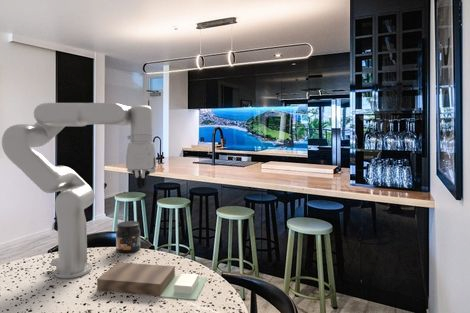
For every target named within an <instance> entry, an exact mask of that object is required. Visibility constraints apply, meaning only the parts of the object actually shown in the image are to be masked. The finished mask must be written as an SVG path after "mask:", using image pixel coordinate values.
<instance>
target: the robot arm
mask: <svg viewBox="0 0 470 313" xmlns="http://www.w3.org/2000/svg"><path fill="white" fill-rule="evenodd" d="M152 116H153V111H152V108H151V106H149V105H137V104H135V105H132V106H129V105H128V106H127V105H124V104H121V103H115V102H45V103H44V102H43V103H40V104H38V105H37V106H36V107H35V108H34V110H33V118H34V119H35V121H36V122H35V123H34V124H28V123H26V124H25V123H24V124H23V123H22V124H21V123H20V124H19V123H18V124H14V125H11V126H9V127H7V128H6V130H4V132H3V134H2V137H1V146H2V150H3V152H4V154H5V155H6V157H7V158H8V159H9V160H10V161H11V163H12V164H13V165H15V166H16V167H17V168H18V169H20V170H21V172H22V173H23V174H24V175H26V177H27V178H29V180H30V181H32V182H33V183H34V184H35V185H36V186H37V187H38V188H39V189H40V190H41V192H44V193H46V194H53V193H57V192H60V193H59V194H58V195H57V196H56V198H55V200H54V210H55V214H56V219H57V220H56V222H57V237H58V238H57V242H58V246H57V247H58V258H52V259H51V262H50V264H49V266H51V267H55V270H54V272H53V273H54V277H55V278H58V279H74V278H78V277H82V276H85V275H87V274H88V273H90V272H91V271H92V270H93V268H92V267H93V265H92V264H91V262H90V263H89V262H88V243H87V242H88V237H87V236H88V234H87V230H88V229H87V228H88V227H87V219H86V215H85V209H87V208H88V207H90V206H91V205H92V204H93V203H94V201H95V197H96V196H95V191H94V190H93V188H92V187H91V186H90V185H89V184H88V183H87V182H86V181H85V180H84V179H83V178H82V177H81V176H80V175H79V174H78V173H77V172H76V171H75V170H74V169H72V168H71V167H69V166H65V165H56V166H55V165H53V164H52V163H51V162H50V161H49V160H48V159H47V158H46V157H45V156H44V155H43V154H41V153H40V152H38V151H37V150H35V149H34V148H38V147H39V148H40V147H43V146H44V145H46V144H49V142H50V141H51V140H52V139H53V138H55V136H57V135H58V134H59V133H61V131H62V130H63V129H64V128H65V127H86V126H87V125H108V126H109V125H111V126H112V125H114V126H129V125H130V135H128V136H127V140H129V141H130V142H128V144H127V149H126V155H125V167H126V169H127V173H132V174H133V175H134V177H135V178H136V186H137V189H139V190H141V189H145V188H146V186H147V178H148V176H149V175H150V174H154V173H156V172H157V170H156V167H157V166H156V165H157V160H156V157H157V156H156V150H155V144H154V142H153V137H152V136H153V128H152V127H153V125H152V124H153V117H152Z"/></svg>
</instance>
